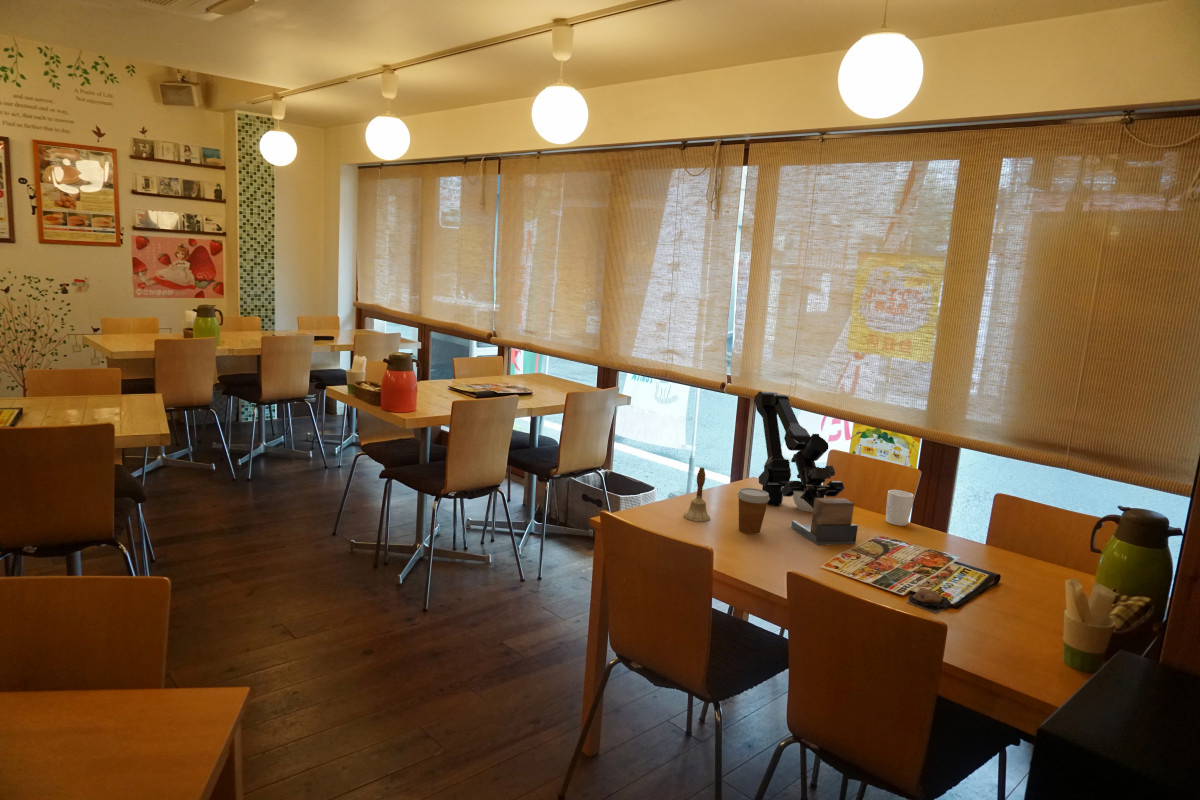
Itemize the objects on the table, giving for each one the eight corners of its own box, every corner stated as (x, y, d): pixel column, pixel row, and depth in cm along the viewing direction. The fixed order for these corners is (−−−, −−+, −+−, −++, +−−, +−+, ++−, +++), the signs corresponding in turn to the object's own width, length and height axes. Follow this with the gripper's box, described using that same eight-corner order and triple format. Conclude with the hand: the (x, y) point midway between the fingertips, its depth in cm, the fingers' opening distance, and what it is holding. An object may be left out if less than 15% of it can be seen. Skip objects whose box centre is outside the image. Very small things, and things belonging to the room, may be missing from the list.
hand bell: (712, 522, 233) (718, 472, 230) (685, 521, 232) (691, 470, 230) (707, 514, 241) (712, 465, 238) (681, 512, 240) (686, 463, 238)
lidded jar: (799, 513, 250) (803, 486, 248) (785, 503, 260) (788, 477, 259) (829, 514, 252) (833, 487, 251) (813, 504, 262) (817, 478, 261)
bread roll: (936, 617, 178) (939, 602, 178) (902, 604, 184) (904, 589, 184) (955, 606, 186) (957, 592, 185) (921, 593, 192) (923, 579, 191)
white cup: (912, 527, 246) (917, 497, 244) (888, 525, 246) (893, 495, 244) (903, 519, 253) (908, 490, 252) (880, 517, 254) (884, 488, 252)
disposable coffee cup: (730, 532, 225) (735, 492, 223) (736, 523, 234) (740, 485, 232) (762, 538, 222) (767, 498, 220) (767, 529, 231) (772, 491, 229)
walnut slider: (810, 533, 227) (814, 497, 225) (839, 533, 229) (844, 498, 228) (819, 539, 222) (824, 503, 220) (848, 539, 225) (854, 503, 223)
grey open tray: (791, 527, 235) (793, 509, 234) (827, 527, 238) (829, 509, 237) (817, 544, 220) (820, 525, 219) (855, 544, 224) (857, 525, 223)
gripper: (791, 455, 230) (805, 501, 222) (845, 456, 235) (861, 502, 227) (775, 472, 239) (788, 518, 230) (828, 473, 244) (842, 518, 236)
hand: (820, 513), depth 231 cm, fingers closed
